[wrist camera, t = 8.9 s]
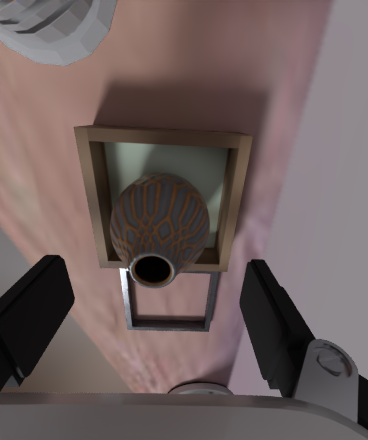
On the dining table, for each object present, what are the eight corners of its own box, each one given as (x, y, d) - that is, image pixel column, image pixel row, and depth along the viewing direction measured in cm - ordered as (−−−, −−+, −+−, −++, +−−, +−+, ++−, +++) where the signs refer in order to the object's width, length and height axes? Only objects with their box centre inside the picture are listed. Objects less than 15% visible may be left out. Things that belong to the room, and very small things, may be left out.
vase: (163, 145, 15) (145, 174, 8) (220, 204, 18) (250, 272, 10) (110, 202, 18) (53, 270, 10) (166, 248, 20) (156, 333, 12)
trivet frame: (207, 324, 27) (208, 331, 26) (129, 322, 26) (127, 329, 25) (217, 263, 22) (219, 269, 21) (122, 260, 21) (119, 266, 21)
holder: (221, 252, 21) (226, 271, 18) (110, 248, 21) (100, 267, 18) (241, 133, 16) (253, 136, 13) (92, 125, 15) (73, 126, 13)
